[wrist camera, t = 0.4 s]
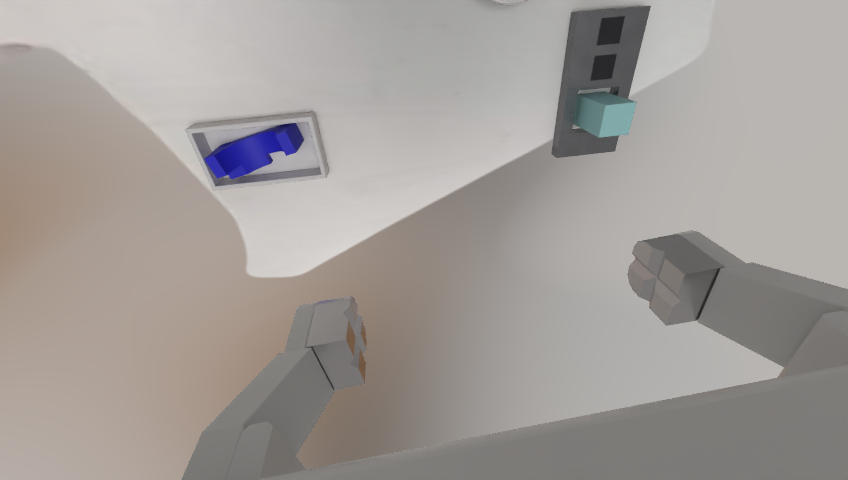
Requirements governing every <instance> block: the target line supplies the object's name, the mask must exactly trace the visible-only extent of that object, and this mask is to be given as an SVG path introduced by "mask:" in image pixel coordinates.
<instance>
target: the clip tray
mask: <svg viewBox="0 0 848 480" xmlns="http://www.w3.org/2000/svg"><path fill="white" fill-rule="evenodd" d="M298 122H308V124H309V128H310V131H311V135H312V139H313V143H314V147H315V151H316V155H317V158H318V162H319V166H320V168H315V169H306V170H297V171H288V172H279V173H270V174H261V175H252V176H243V177H237V178H234V179H231V178H225V179H223V178H222V177H220V178H217V177H216V176H215V174H214V173H213V172H212V170H211V169H210V167H209V166H208V164H207V163H206V162H205V160H204V158H206V157H207V156H208V155H209V154H211V153H212V152H211V150H210V148H209V145H208V143H207V141H206V139H205V136H204V134H203V132H211V131H221V130H230V129H240V128H250V127H259V126H269V125H279V124H288V123H298ZM185 131H186V133H187V136H188V138H189V140H190V142H191V144H192V146H193V148H194V151H195V153H196V155H197V157H198V159H199V161H200V164H201V166H202V168H203V170H204V172H205V174H206V177H207V179H208V181H209V183H210V185H211V187H212V190H213V191H214V190H223V189H232V188H241V187H250V186H258V185H267V184H276V183H285V182H294V181H303V180H312V179H321V178H327V175H328V172H329V169H328V165H327V161H326V157H325V152H324V148H323V144H322V140H321V136H320V132H319V128H318V124H317V120H316V116H315V112H307V113H297V114H287V115H277V116H267V117H258V118H248V119H238V120H228V121H218V122H209V123H199V124H194V125H192V126H190V127H188V128H187V129H185Z"/></svg>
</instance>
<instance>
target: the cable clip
mask: <svg viewBox="0 0 848 480" xmlns="http://www.w3.org/2000/svg"><path fill="white" fill-rule="evenodd" d="M303 141H304V139H303V137H302V135H301V133H300V131H299V129H298V127H297V125H296V123H288V124H283V125H280V126H277V127H274V128H271V129H268V130H265V131H262V132H259V133H256V134H253V135H250V136H247V137H244V138H241V139H238V140H235V141H232V142H229V143H226V144H223V145H220V146H219V147H218V148H217V149H215V150H214V151H213V152H212V153H211V154H209V155H208V156H207V157H206V158H204V160H205V162H206V163H207V164H208V166H209V167H210V169H211V170H212V172H213V173H214V174H215V176H216V177H217V178H220V177H223V176H226V175H229V177H230V178H231V179H234V178H237V177H240V176H243V175H246V174H248V173H250V172H252V171H254V170H256V169H258V168H261V167H263V166H266V165H268V164H271V163H272V161H273V160H272V158H271V156H270V155H269V153H273V152H278V151H284V152H285V154H286V156H287V155H290V154H293V153H296V152H297V150H298V149H299V147H300V145H301V144H302V142H303Z"/></svg>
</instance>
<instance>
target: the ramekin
mask: <svg viewBox="0 0 848 480" xmlns="http://www.w3.org/2000/svg"><path fill="white" fill-rule="evenodd" d="M491 1H493V2H495V3H498V4H502V5H515V4H519V3H522V2H525V1H527V0H491Z"/></svg>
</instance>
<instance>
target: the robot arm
mask: <svg viewBox="0 0 848 480" xmlns="http://www.w3.org/2000/svg"><path fill="white" fill-rule="evenodd" d="M632 254H633V255H634V256H635V258H636V259H635V260H634V261H633V262H632V263H631V264H630V266H629V270H628V279H629V283H630V285H631V287H632V289H633V291H634V292H635V293H636V294H637V295H638V296H639V297H641V298H643V299H645V300H648V301H650V307H649V308H650V309H651V310H652V311H653V312H654V313H655V314H656V315H657V316H658V317H659V318H660V320H661V321H662V322H663V323H664V324H665V325H673V324H679V323H684V322H691V321H696V320H698V322H699V323H700V324H702V325H704V326H706V327H708V328H710V329H712V330H714V331H716V332H718V333H720V334H721V335H723V336H725V337H727V338H729V339H731V340H733V341H735V342H737V343H739V344H741V345H742V346H744V347H746V348H748V349H750V350H752V351H754V352H756V353H758V354H760V355H762V356H763V357H766V358H767V359H769V360H771V361H773V362H775V363H777V364H779V365H781V366H783V367H785V368H784V369H783V370H782V372H781V373H780V375H779V376H778V377H777V378H775V379H770V380H764V381H759V382H754V383H749V384H744V385H739V386H733V387H728V388H723V389H718V390H713V391H708V392H703V393H698V394H693V395H687V396H682V397H678V398H672V399H667V400H662V401H657V402H652V403H647V404H641V405H637V406H632V407H626V408H621V409H616V410H611V411H606V412H600V413H595V414H590V415H585V416H580V417H575V418H570V419H565V420H560V421H555V422H549V423H544V424H539V425H534V426H530V427H524V428H519V429H514V430H509V431H504V432H498V433H493V434H488V435H483V436H478V437H473V438H468V439H463V440H457V441H452V442H447V443H442V444H437V445H432V446H427V447H422V448H416V449H411V450H406V451H401V452H396V453H391V454H386V455H381V456H375V457H370V458H365V459H361V460H355V461H350V462H345V463H340V464H334V465H330V466H325V467H319V468H314V469H309V470H306V469H305V467H304V466H303V465H302V463H301V462H300V461H299V460H298V458H297V457H296V455H297V453H298V452H299V450H300V448H301V447H302V445H303V443H304V442H305V440H306V438H307V437H308V435H309V433H310V432H311V430H312V428H313V427H314V425H315V424H316V422H317V420H318V419H319V417H320V415H321V414H322V412H323V411H324V409H325V407H326V406H327V404H328V402H329V401H330V399H331V397H332V396H333V394H334V391H335V390H339V389H344V388H348V387H353V386H357V385H362V384H365V371H366V370H365V369H366V362H365V359H364V356H363V353H364V352H365V350H366V344H367V340H366V330H365V326H364V322H363V320H362V317H361V316H359V315H357V308H358V306H357V303H356V301H355V298H354V297H352V296H350V297H344V298H338V299H332V300H326V301H320V302H317V303H310V304H305V305H300V306H299V307H298V308H297V310H296V314H295V317H294V320H293V324H292V327H291V331H290V334H289V338H288V341H287V345H286V348H285V352H284V353H279V354H278V355H277V356H276V357H275V358H274V359H273V360H272V361H271V362H270V363H269V364H268V365H267V366H266V367H265V368H264V369H263V370H262V371H261V372H260V373H259V374H258V375H257V376H256V378H255V379H254V380H253V381H252V382H251V383H250V384H249V385H248V386H247V387H246V388H245V389H244V390H243V391H242V392H241V393H240V394H239V395H238V396H237V397H236V398H235V399H234V400H233V401H232V402H231V403H230V404H229V405H228V406H227V407H226V408H225V409H224V411H222V413H220V415H219V416H218V417H217V418H216V419H215V420H214V421H213V422H212V423H211V424H210V425H209V426H208V427H207V428H206V429H205V430H204V431H203V432H202V434H201V436H200V438H199V441H198V443H197V445H196V448H195V450H194V452H193V454H192V457H191V459H190V461H189V464H188V466H187V468H186V471H185V473H184V475H183V478H182V480H848V289H845V288H841V287H838V286H834V285H831V284H827V283H824V282H820V281H816V280H813V279H809V278H806V277H802V276H798V275H795V274H791V273H788V272H784V271H781V270H777V269H774V268H770V267H766V266H763V265H759V264H756V263H747V264H746V263H745V262H743V261H742V260H740V259H739V258H737V257H736V256H734V255H733V254H731V253H730V252H728V251H727V250H725V249H724V248H722V247H721V246H719V245H717V244H716V243H714V242H713V241H711V240H710V239H708V238H707V237H705V236H704V235H702V234H701V233H699V232H696V231H692V230H691V231H687V232H682V233H677V234H673V235H669V236H664V237H658V238H653V239H648V240H643V241H638V242H637V243H636V245H635V246H634V249H633V253H632Z"/></svg>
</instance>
